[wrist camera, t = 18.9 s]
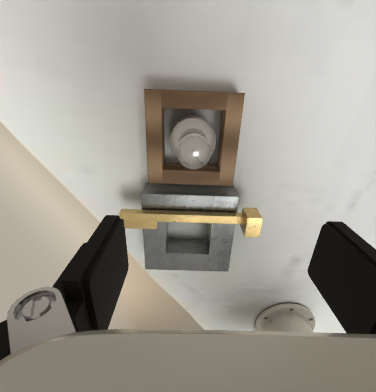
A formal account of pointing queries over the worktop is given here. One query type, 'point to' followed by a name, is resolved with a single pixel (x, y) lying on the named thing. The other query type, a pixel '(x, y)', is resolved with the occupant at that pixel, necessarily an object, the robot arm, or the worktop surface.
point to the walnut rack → (227, 142)
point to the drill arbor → (193, 141)
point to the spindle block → (189, 248)
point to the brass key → (193, 218)
